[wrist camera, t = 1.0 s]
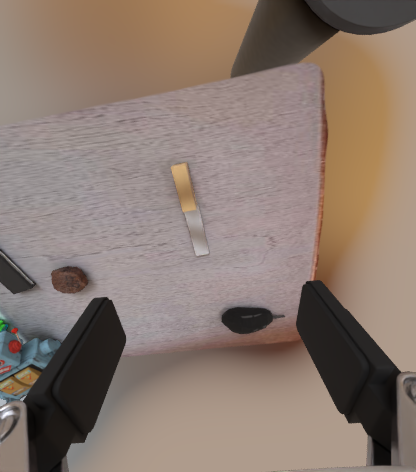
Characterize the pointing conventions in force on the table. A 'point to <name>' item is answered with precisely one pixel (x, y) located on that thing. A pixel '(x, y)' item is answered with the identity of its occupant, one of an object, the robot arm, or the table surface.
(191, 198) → the knife
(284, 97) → the table surface
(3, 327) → the toy car
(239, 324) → the gaming mouse
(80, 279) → the stone
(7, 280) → the dark grey flat bar
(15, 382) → the toy robot
